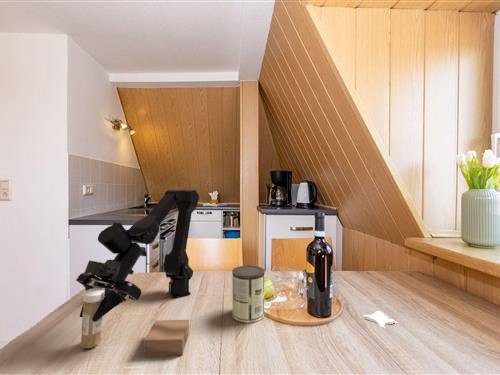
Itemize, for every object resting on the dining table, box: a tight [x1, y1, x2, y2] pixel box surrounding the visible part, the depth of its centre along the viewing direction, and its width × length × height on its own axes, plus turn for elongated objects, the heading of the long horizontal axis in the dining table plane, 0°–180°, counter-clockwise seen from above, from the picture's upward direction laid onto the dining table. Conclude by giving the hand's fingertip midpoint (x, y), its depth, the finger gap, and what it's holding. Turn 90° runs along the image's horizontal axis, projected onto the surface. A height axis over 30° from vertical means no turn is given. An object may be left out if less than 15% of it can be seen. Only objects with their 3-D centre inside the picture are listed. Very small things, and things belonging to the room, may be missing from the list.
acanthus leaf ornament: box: [361, 310, 399, 329], centre depth 79 cm, size 8×7×2 cm
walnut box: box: [143, 319, 190, 358], centre depth 67 cm, size 9×9×4 cm
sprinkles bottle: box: [80, 288, 105, 349], centre depth 66 cm, size 5×5×13 cm
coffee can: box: [231, 265, 266, 324], centre depth 83 cm, size 10×10×14 cm
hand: (87, 319), depth 65 cm, fingers closed on sprinkles bottle, 4 cm apart
